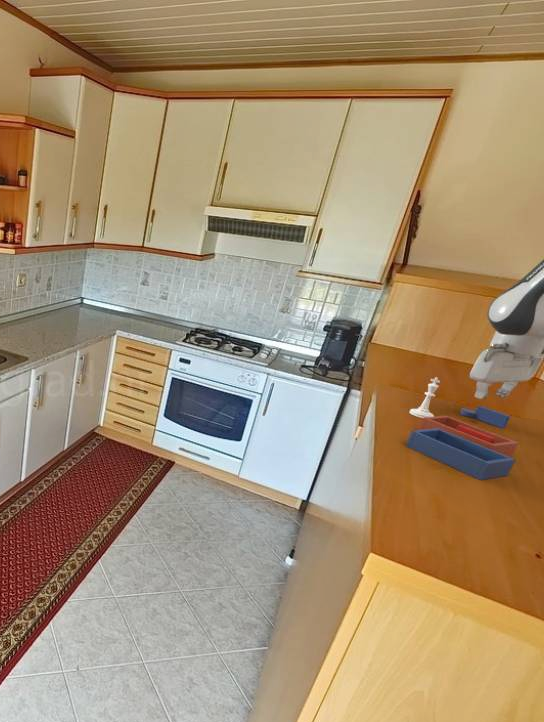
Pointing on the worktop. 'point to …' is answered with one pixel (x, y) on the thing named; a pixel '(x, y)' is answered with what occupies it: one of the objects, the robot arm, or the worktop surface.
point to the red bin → (450, 426)
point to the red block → (475, 434)
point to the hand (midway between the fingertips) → (490, 397)
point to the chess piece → (426, 401)
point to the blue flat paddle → (487, 416)
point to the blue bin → (460, 453)
